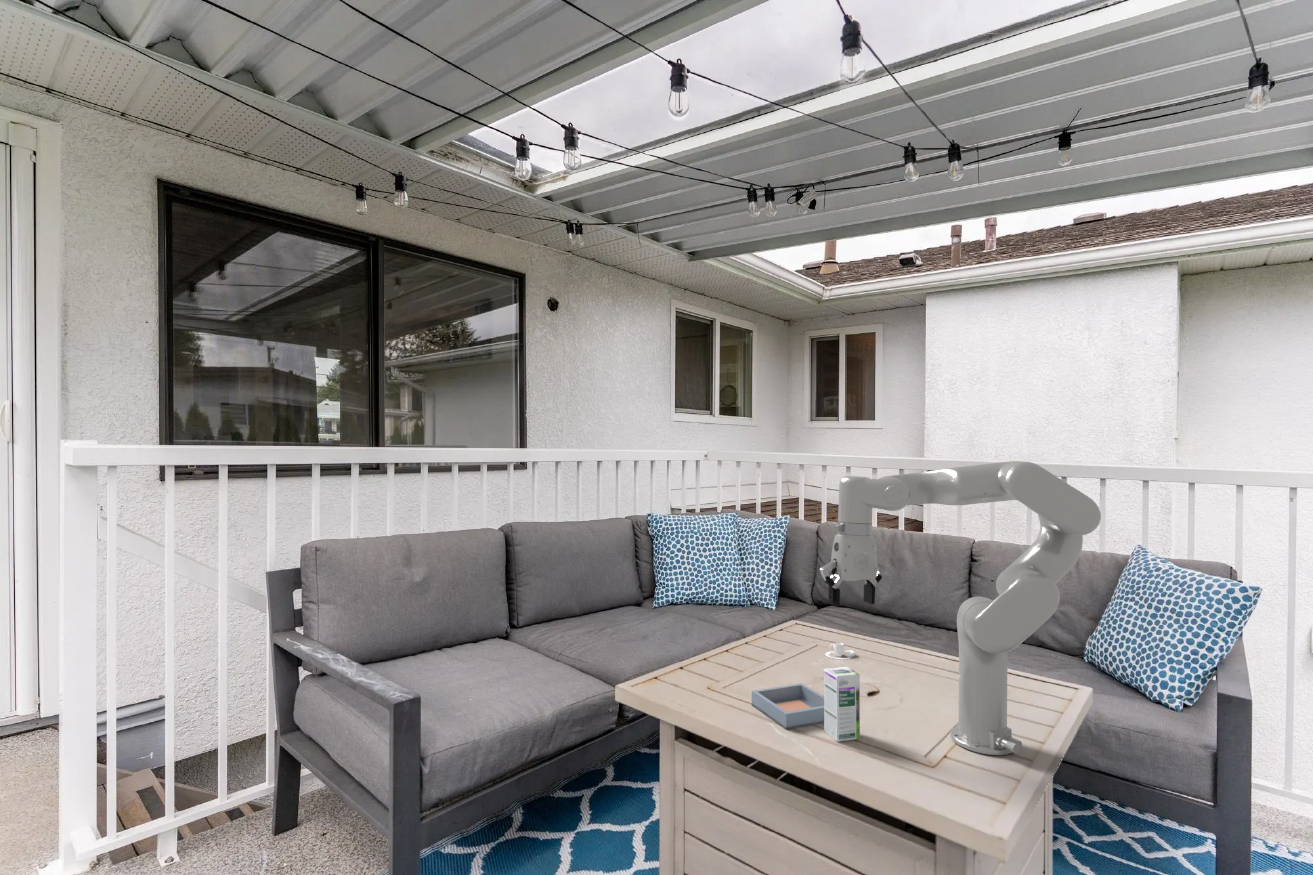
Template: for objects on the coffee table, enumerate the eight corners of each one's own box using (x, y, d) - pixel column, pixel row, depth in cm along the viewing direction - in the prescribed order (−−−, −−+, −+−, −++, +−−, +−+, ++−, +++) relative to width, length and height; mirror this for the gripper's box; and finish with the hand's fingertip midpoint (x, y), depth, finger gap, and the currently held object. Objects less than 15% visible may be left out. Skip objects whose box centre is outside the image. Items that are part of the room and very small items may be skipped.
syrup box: (837, 742, 139) (837, 675, 140) (823, 731, 145) (823, 667, 145) (860, 740, 141) (860, 673, 141) (845, 728, 147) (845, 665, 147)
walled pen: (839, 719, 151) (839, 704, 152) (785, 729, 146) (786, 714, 146) (801, 696, 165) (801, 683, 165) (751, 704, 160) (751, 690, 160)
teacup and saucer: (857, 656, 200) (857, 643, 200) (850, 663, 194) (850, 649, 194) (829, 651, 205) (829, 638, 205) (821, 657, 198) (822, 644, 198)
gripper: (832, 532, 141) (829, 609, 141) (896, 531, 147) (893, 606, 147) (813, 527, 148) (810, 601, 148) (874, 527, 154) (871, 598, 154)
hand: (851, 603), depth 147 cm, fingers open, 9 cm apart
